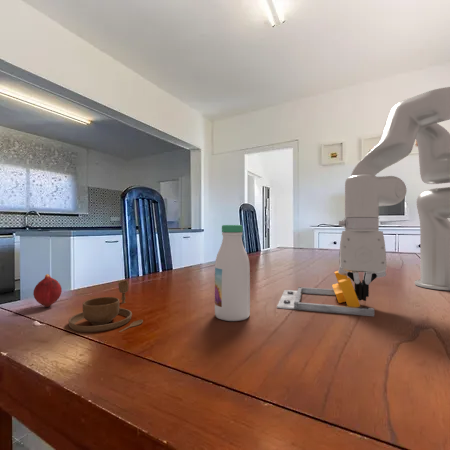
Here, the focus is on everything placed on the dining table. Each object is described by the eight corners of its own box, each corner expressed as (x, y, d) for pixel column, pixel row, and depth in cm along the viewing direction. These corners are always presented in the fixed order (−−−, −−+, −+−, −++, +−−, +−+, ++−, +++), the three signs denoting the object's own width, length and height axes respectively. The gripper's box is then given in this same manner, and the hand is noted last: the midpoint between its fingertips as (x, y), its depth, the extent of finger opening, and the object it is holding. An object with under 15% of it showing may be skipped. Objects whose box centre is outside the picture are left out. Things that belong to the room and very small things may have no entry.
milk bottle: (253, 312, 64) (253, 224, 64) (244, 323, 56) (244, 224, 56) (221, 309, 66) (221, 224, 66) (209, 319, 59) (209, 224, 59)
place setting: (45, 326, 57) (45, 297, 57) (122, 302, 74) (122, 280, 74) (106, 343, 49) (106, 309, 49) (176, 311, 67) (175, 286, 67)
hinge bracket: (284, 291, 84) (284, 286, 84) (361, 296, 78) (361, 291, 78) (276, 307, 67) (276, 301, 67) (374, 316, 61) (374, 309, 61)
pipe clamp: (336, 295, 77) (327, 273, 78) (352, 291, 76) (343, 269, 77) (341, 310, 66) (331, 284, 66) (360, 306, 65) (350, 279, 65)
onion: (66, 305, 70) (66, 273, 70) (43, 311, 65) (43, 277, 65) (51, 302, 72) (51, 271, 72) (28, 308, 67) (28, 275, 67)
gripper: (330, 225, 68) (330, 300, 68) (400, 225, 64) (400, 306, 64) (328, 225, 75) (328, 293, 75) (391, 225, 71) (391, 298, 71)
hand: (361, 299), depth 69 cm, fingers closed
